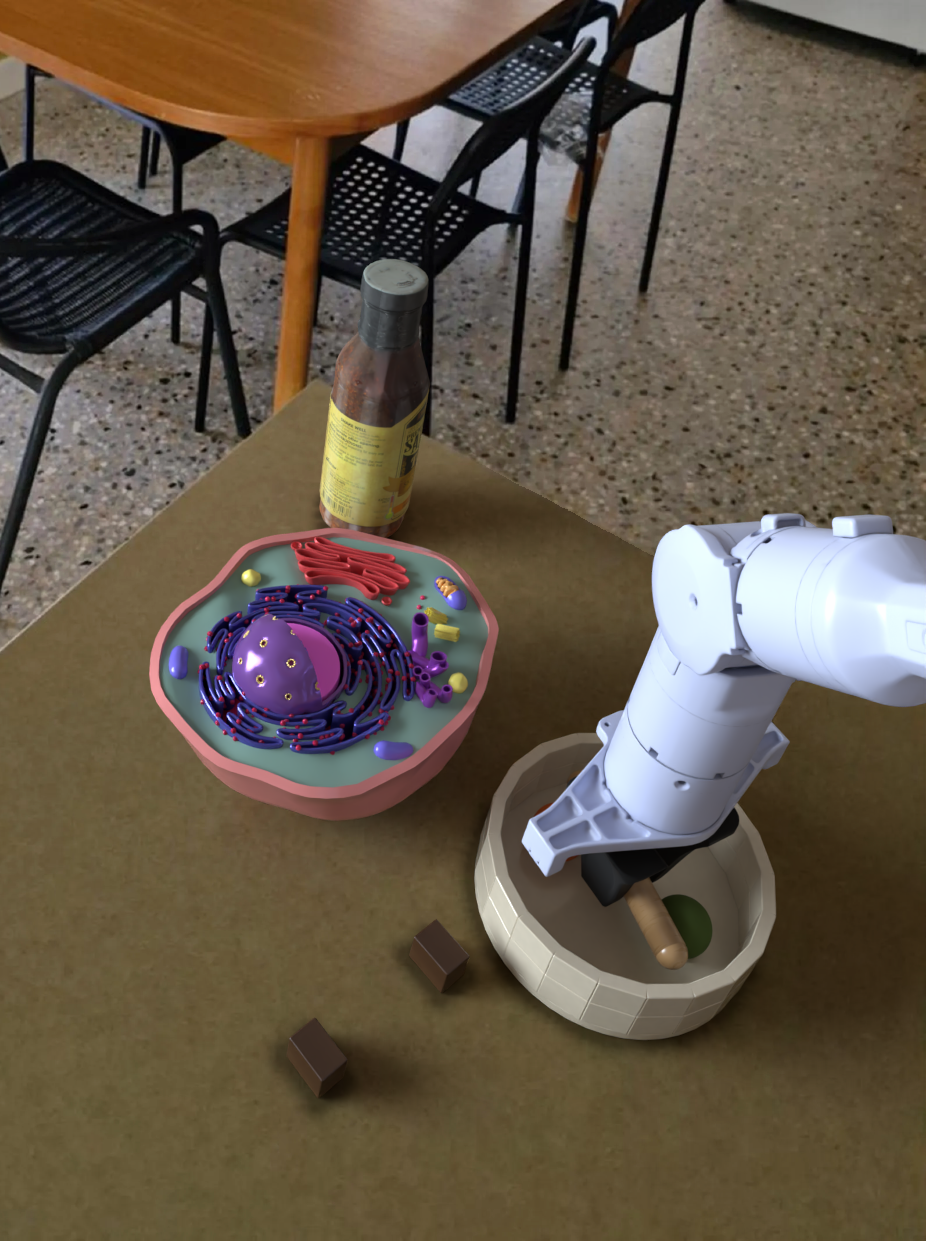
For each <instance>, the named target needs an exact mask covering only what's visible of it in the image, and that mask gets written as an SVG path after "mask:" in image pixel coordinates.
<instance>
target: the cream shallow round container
mask: <svg viewBox="0 0 926 1241" xmlns="http://www.w3.org/2000/svg"><path fill="white" fill-rule="evenodd" d="M603 746H604V744H603V742H602V740H601V739H600V738H599V737H598V735H597V733H596V732H575V733H571V734H567V735H564V736H562V737H561V736H560V737H558V738H554V739H551V740H547V741H545V742H542V743H540V744H537V746H535V747H534V748H532V749H531V750H530V751H529V752H527V753H526V754H524V755H523V756H522V757H521V758H519V759H518V760H516V761H515V762H514V763H512V764H511V766H509V768H508V771H507V772H506V773H505V775H504V777H503V778H502V780H501V782H500V783H499V785H498V787H497V789H496V790H495V792H494V794H493V796H492V799H491V803H490V805H489V808H488V810H487V811H488V812H487V814H486V817H485V821H484V824H483V827H482V830H481V833H480V836H479V844H478V847H477V853H476V858H475V863H474V878H473V879H474V880H473V881H474V889H475V898H476V903H477V908H478V912H479V915H480V918H481V921H482V924H483V927H484V930H485V931H486V934H487V936H488V938H489V940H490V942H491V945H492V946H493V949H494V950H495V952H496V953H497V954H498V956H499V958H500V959H501V960H502V962H503V964H504V965H505V966H506V967H507V969H508V970H509V971H510V972H511V974H512V975H513V976H514V977H515V979H516V980H517V982H519V983H520V984H521V985H522V986H523V987H524V988H525V989H526V990H527V991H528V992H529V993H530V994H531V995H532V996H534V997H535V998H536V999H537V1000H538V1001H540V1002H541V1003H542V1004H543V1005H545V1006H546V1007H547V1008H549V1009H550V1010H552V1011H553V1012H555V1013H557V1014H558V1015H560V1016H561V1017H563V1018H564V1019H567V1021H570V1022H572V1023H575V1024H577V1025H579V1026H580V1027H583V1028H585V1029H588V1030H590V1031H593V1032H597V1033H599V1034H602V1035H606V1036H610V1037H615V1038H619V1039H625V1040H639V1041H648V1040H649V1041H650V1040H663V1039H668V1038H673V1037H678V1036H680V1035H683V1034H686V1033H688V1032H692V1031H694V1030H696V1029H698V1028H700V1027H701V1026H703V1025H705V1024H706V1023H708V1022H709V1021H711V1020H712V1019H713V1018H714V1017H715V1016H717V1015H718V1014H719V1013H720V1012H721V1011H722V1010H724V1008H725V1007H726V1006H727V1004H728V1003H729V1002H730V1000H731V999H732V998H734V996H735V995H736V994H737V993H738V992H739V991H740V990H741V988H742V986H743V985H744V983H745V982H746V980H747V979H748V977H749V976H750V975H751V973H752V971H753V970H754V968H755V967H756V965H757V964H758V963H759V961H760V959H761V957H763V955H764V952H765V951H766V950H765V949H766V947H767V944H768V941H769V939H770V936H771V933H772V930H773V927H774V924H775V922H776V919H777V901H776V897H777V896H776V876H775V872H774V869H773V867H772V866H773V865H772V863H771V861H770V858H769V855H768V853H767V850H766V848H765V845H764V842H763V840H762V836H761V834H760V832H759V830H758V829H757V827H755V825H754V823H752V821H751V819H750V818H749V817H748V815H747V814H746V812H745V811H744V810H743V808H742V807H741V806H740V804H739V802H737V804H736V805H735V806H734V807H735V809H736V810H737V812H738V815H739V825H738V827H737V829H736V831H735V833H734V834H732V835H730V836H728V837H726V838H725V839H723V840H721V841H719V842H717V843H715V844H713V845H711V846H709V847H703V848H698V849H695V850H694V851H692V852H691V853H690V854H688V855H687V856H686V857H685V858H684V859H682V860H681V861H680V862H679V863H678V864H677V865H675V866H674V867H673V868H672V869H671V870H670V871H669V872H668V873H666V874H665V875H664V876H663V877H662V878H660V879H659V880H657V881H655V882H653V885H654V887H655V889H656V891H657V893H658V895H659V896H660V898H661V899H663V898H665V897H667V896H669V895H674V894H681V895H686V896H689V897H691V898H693V899H695V900H696V901H698V902H699V903H700V904H701V905H702V906H703V907H704V908H705V909H706V911H707V913H708V914H709V917H710V919H711V922H712V929H713V932H712V939H711V942H710V944H709V946H708V948H707V949H706V950H705V951H704V952H703V953H702V954H701V955H699V956H697V957H695V958H691V959H687V962H686V964H685V965H684V966H683V967H682V968H680V969H677V970H670V969H666V968H664V967H663V966H662V965H660V964H659V962H658V961H657V959H656V958H655V956H654V954H653V952H652V950H651V948H650V946H649V944H648V942H647V940H646V938H645V937H644V935H643V933H642V931H641V929H640V927H639V925H638V923H637V921H636V919H635V917H634V915H633V914H632V912H631V910H630V908H629V906H628V904H627V902H626V900H625V898H624V897H622V898H621V899H620V900H618V901H616V902H615V903H613V904H611V905H609V906H607V907H604V906H602V905H601V903H600V902H599V900H598V899H597V898H596V896H595V895H594V893H593V892H592V891H591V889H590V888H589V886H588V885H587V884H586V882H585V881H584V879H583V878H582V877H581V855H579V856H577V857H576V858H574V859H572V860H570V861H566V862H565V863H564V866H563V868H562V869H561V870H560V871H559V872H557V873H554V874H552V875H550V876H548V877H546V876H545V875H544V874H543V872H542V871H541V869H540V868H539V866H538V865H537V864H536V862H535V861H534V860H533V858H532V857H531V855H530V854H529V852H528V850H527V849H526V848H525V846H524V845H523V843H522V839H523V836H524V833H525V830H526V828H527V825H528V822H529V820H530V819H531V818H533V817H534V815H535V813H536V812H537V811H538V810H539V809H540V808H541V807H543V806H544V805H546V804H549V803H553V802H555V801H556V800H557V799H558V798H559V797H560V796H561V795H562V794H563V793H564V791H565V789H566V786H567V780H568V777H569V776H570V774H571V773H573V772H574V771H576V770H583V769H584V768H585V767H586V766H587V765H588V764H589V763H590V761H591V760H592V759H593V758H594V757H595V756H596V754H597V753H598V752H599V751H600V750H601V749H602V747H603Z"/></svg>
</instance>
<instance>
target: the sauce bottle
mask: <svg viewBox="0 0 926 1241" xmlns="http://www.w3.org/2000/svg"><path fill="white" fill-rule="evenodd" d="M359 290H360V297H361V299H362V300H361V306H360V308H361V309H360V317H359V320H357V332H356V334H355V335H353V336H351V338H350V339H349V340H348V341H347V342H346V343H345V345H344V346H343V347H342V348H341V350H340V352H339V354H338V356H337V358H336V361H335V367H334V379H333V386H332V389H331V391H330V396H329V405H328V406H329V407H328V413H327V424H326V431H325V441H324V448H323V458H322V467H321V476H320V484H319V498H320V502H319V512H320V515H321V519H322V520H323V521H324V523H325V524H326V525H327V526H328V527H329V528H342V529H350V530H355V531H359V532H363V533H367V534H371V535H375V536H379V537H383V538H387V539H388V538H389V537H390V536H392V535H393V534H395V533H396V532H397V531H398V529H399V528H400V526H402V523H403V520H405V514H406V512H407V510H408V508H409V505H410V500H411V495H412V494H411V493H412V490H413V489H412V488H413V483H414V478H415V473H416V466H417V460H418V457H419V450H420V443H421V440H422V434H423V427H424V422H425V414H426V410H427V405H428V404H427V403H428V397H429V392H430V386H431V383H430V378H429V374H428V369H427V366H426V361H425V359H424V354H423V349H422V346H421V342H420V324H421V316H422V315H423V314H422V313H423V306H424V304H425V303H426V302H427V299H428V293H429V292H428V291H429V276H428V275H427V273H426V271H424V270H423V269H422V268H420V267H419V266H417V265H416V264H414V263H411V262H408V261H406V260H403V259H396V258H388V259H385V258H384V259H379V260H376V261H374V262H372V263H370V264H369V265H366V267H365V268H364V270H363V272H362V277H361V284H360V289H359Z"/></svg>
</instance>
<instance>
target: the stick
mask: <svg viewBox="0 0 926 1241" xmlns="http://www.w3.org/2000/svg"><path fill="white" fill-rule="evenodd" d="M582 771H583V770H576V771H574V772H573V773H571V774H570V776H569V777H568V780H567V784H568V782H569V781H570V779H572V778H574V777H575V776H578V775H579V774H580V773H581V772H582ZM624 898H625V900H626V902H627V904H628V906H629V908H630V910H631V912H632V914H633V915H634V917H635V919H636V921H637V923H638V925H639V927H640V929H641V931H642V933H643V935H644V937H645V938H646V940H647V942H648V944H649V946H650V948H651V950H652V952H653V954H654V956H655V958H656V959H657V961H658V962H659V964H660V965H662V966H663V967H664V968H666V969H670V970H677V969H680V968H682V967H683V966H684V965H685V964H686V962H687V959H688V949H687V946H686V944H685V942H684V940H683V939H682V937H681V935H680V933H679V931H678V929H677V928H676V926H675V924H674V922H673V920H672V918H671V917H670V915H669V913H668V911H667V909H666V907H665V906H664V904H663V902H662V900H661V898H660V896H659V895H658V893H657V891H656V889H655V887H654V885H653V883H652V882H651V880H650V878H649V877H648V878H646V879H644V880H642V881H639V882H636V883H634V884H633V886H632V887H631V888H630V889H629V891H628V892H627V893H626V894H625V895H624Z"/></svg>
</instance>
